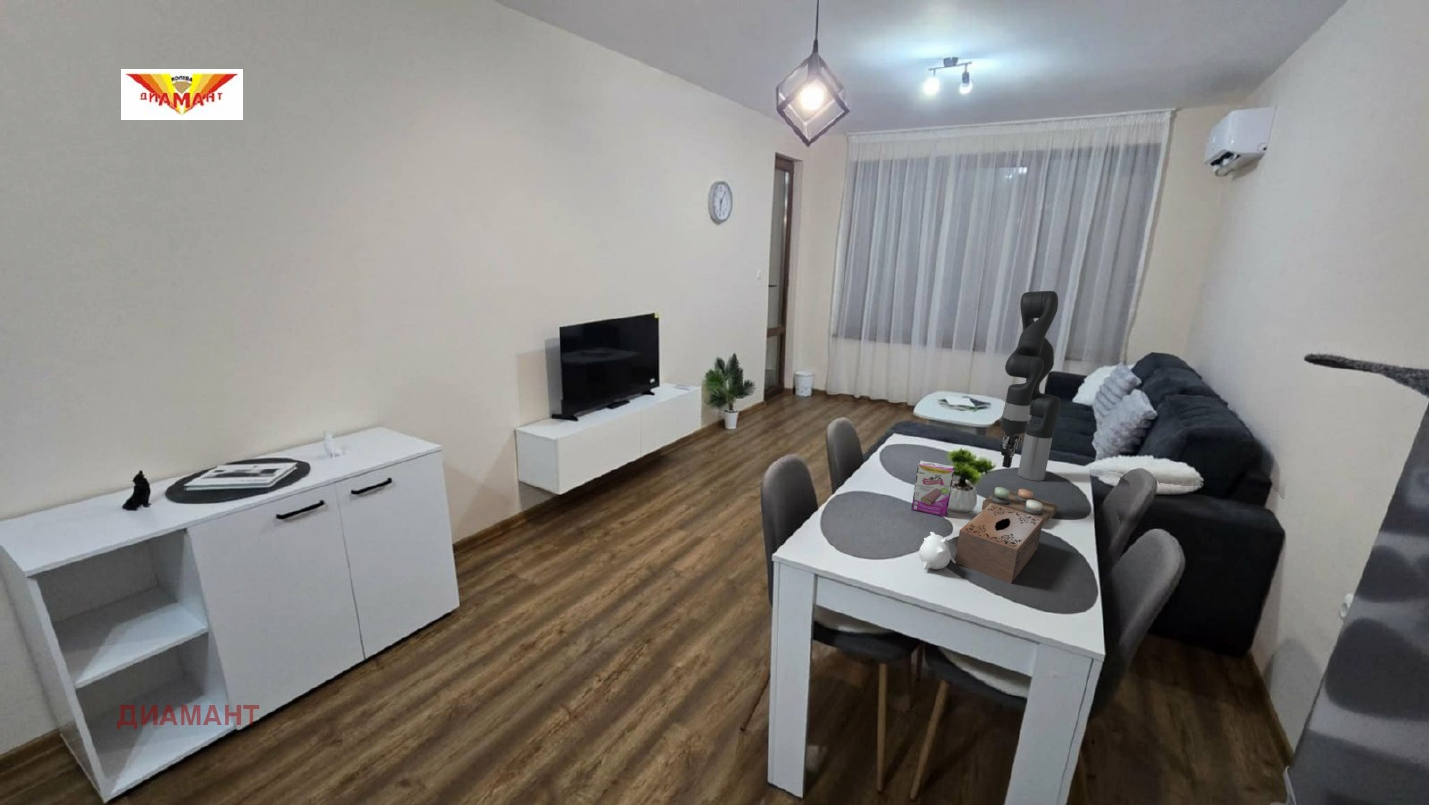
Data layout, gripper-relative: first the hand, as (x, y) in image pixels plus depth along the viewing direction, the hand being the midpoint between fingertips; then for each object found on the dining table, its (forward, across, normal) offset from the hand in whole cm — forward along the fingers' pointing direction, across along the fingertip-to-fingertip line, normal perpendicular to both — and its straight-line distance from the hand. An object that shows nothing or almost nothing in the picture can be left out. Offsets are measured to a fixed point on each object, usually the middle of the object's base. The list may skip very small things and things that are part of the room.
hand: (1006, 467), depth 185 cm
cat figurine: (+16, +51, +2) cm, 53 cm away
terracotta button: (+11, -8, +5) cm, 15 cm away
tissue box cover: (+16, +33, +11) cm, 38 cm away
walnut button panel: (+15, -4, +5) cm, 17 cm away
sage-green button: (+10, 0, 0) cm, 10 cm away
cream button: (+11, 0, +10) cm, 15 cm away
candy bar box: (+16, +20, -15) cm, 29 cm away
